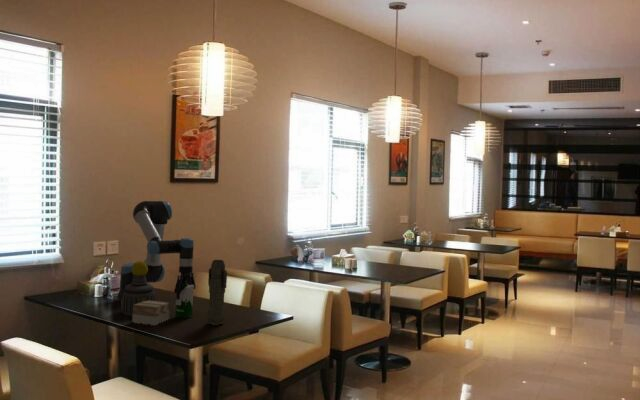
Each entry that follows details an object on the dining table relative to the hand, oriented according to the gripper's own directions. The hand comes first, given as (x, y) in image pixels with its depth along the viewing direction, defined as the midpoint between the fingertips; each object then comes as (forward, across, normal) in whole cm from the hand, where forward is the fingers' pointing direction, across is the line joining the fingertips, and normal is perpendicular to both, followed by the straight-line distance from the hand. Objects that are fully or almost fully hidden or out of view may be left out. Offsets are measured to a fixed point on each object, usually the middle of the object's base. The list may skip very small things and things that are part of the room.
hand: (184, 302), depth 331 cm
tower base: (+9, -16, +11) cm, 22 cm away
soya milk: (+8, 0, 0) cm, 8 cm away
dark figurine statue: (+8, -6, -23) cm, 25 cm away
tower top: (+4, -16, +11) cm, 20 cm away
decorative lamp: (+8, -3, +28) cm, 29 cm away
